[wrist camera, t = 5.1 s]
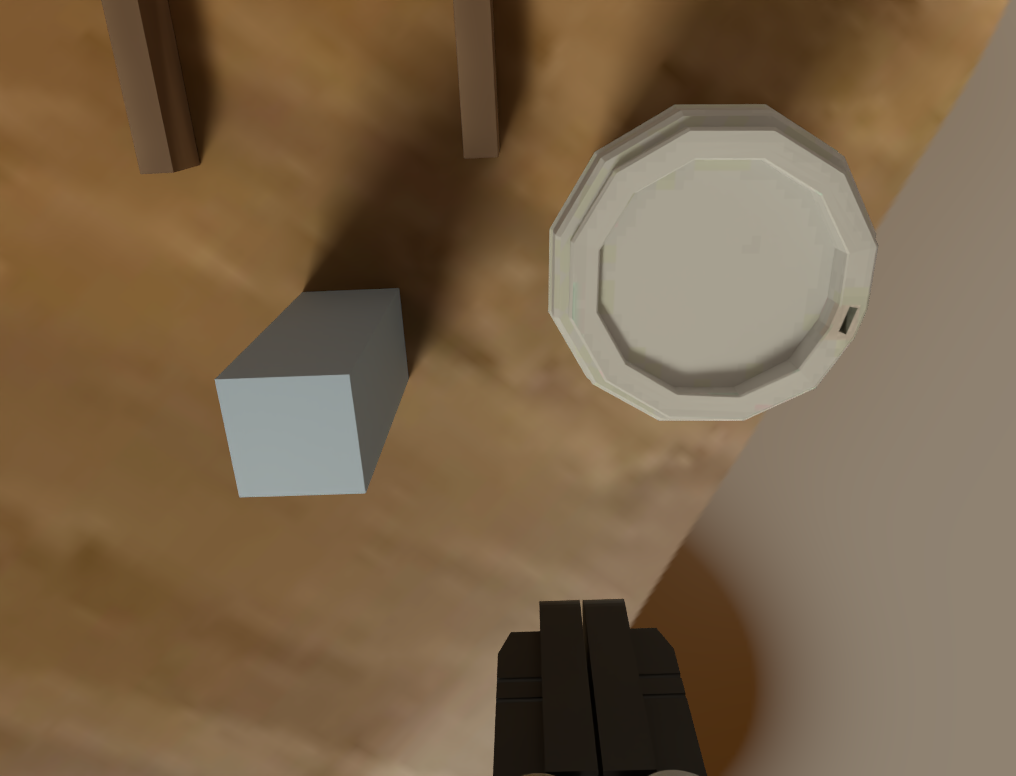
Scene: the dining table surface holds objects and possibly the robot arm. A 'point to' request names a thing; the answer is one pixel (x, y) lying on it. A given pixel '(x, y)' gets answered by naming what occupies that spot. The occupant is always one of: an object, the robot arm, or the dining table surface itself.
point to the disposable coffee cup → (711, 263)
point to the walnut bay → (163, 102)
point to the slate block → (316, 394)
